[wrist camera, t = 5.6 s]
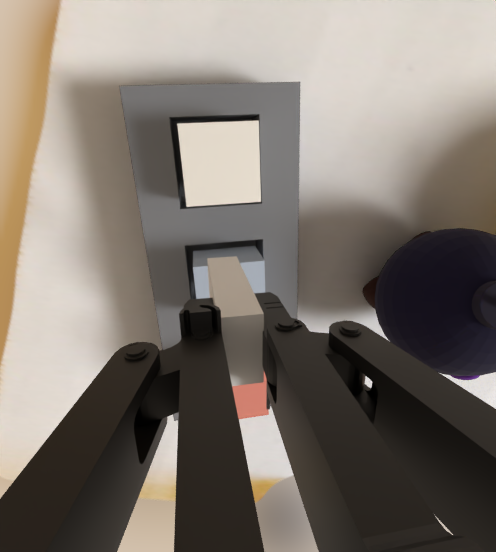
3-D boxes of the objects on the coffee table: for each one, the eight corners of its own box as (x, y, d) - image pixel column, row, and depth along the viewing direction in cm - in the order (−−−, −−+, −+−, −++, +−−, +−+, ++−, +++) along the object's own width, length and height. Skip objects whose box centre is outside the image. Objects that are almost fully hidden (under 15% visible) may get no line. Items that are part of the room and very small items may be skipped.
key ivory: (179, 127, 23) (177, 123, 20) (248, 124, 24) (258, 120, 20) (187, 198, 25) (186, 206, 22) (251, 194, 26) (260, 201, 22)
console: (130, 95, 25) (119, 85, 21) (285, 91, 26) (300, 81, 23) (176, 392, 35) (174, 420, 31) (285, 377, 37) (295, 402, 33)
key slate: (193, 250, 26) (192, 267, 23) (255, 245, 27) (264, 260, 23) (199, 307, 28) (199, 330, 24) (256, 300, 29) (266, 322, 25)
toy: (372, 342, 37) (480, 459, 23) (320, 242, 31) (419, 315, 18) (468, 285, 36) (640, 371, 22) (431, 173, 31) (626, 194, 17)
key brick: (203, 347, 29) (204, 374, 26) (258, 340, 30) (267, 366, 26) (208, 391, 31) (210, 423, 28) (260, 384, 32) (268, 414, 28)
